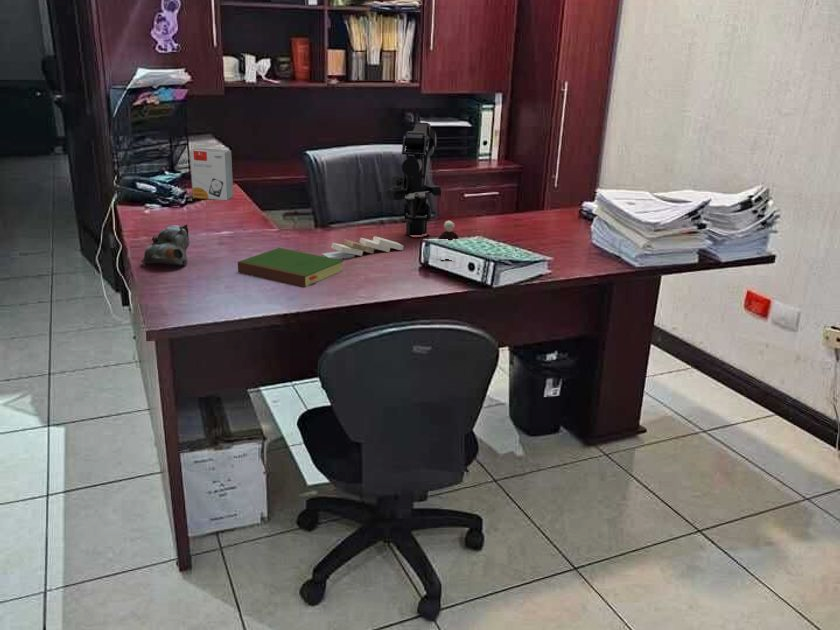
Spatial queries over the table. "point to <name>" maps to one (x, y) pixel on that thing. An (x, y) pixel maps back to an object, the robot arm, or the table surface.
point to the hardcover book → (290, 267)
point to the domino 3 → (358, 246)
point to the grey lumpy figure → (168, 246)
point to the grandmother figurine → (448, 231)
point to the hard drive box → (211, 173)
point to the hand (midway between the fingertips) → (413, 217)
